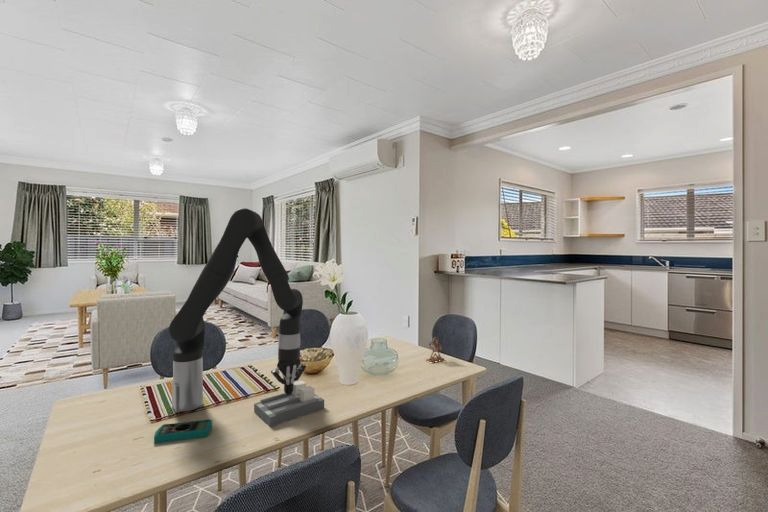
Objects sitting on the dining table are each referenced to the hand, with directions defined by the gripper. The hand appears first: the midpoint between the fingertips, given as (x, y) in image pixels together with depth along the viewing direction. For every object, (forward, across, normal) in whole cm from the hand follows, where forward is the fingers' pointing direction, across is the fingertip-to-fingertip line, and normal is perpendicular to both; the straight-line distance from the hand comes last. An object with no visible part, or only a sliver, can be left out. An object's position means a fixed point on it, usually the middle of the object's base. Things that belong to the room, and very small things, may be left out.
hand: (288, 393), depth 127 cm
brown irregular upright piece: (+4, -79, +1) cm, 79 cm away
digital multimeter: (+6, +32, -3) cm, 33 cm away
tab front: (+1, -4, +6) cm, 7 cm away
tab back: (+1, -4, 0) cm, 4 cm away
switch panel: (+5, +1, +3) cm, 6 cm away
